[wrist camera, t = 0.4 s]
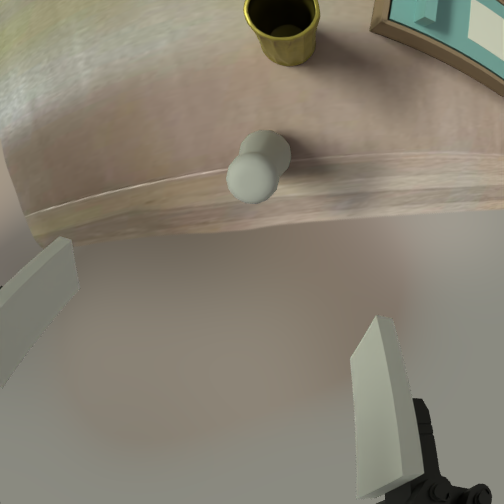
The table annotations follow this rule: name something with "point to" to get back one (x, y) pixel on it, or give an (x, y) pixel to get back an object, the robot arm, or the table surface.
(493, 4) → the lid
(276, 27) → the vase
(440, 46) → the wooden sliding-lid box
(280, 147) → the salt shaker
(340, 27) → the table surface
